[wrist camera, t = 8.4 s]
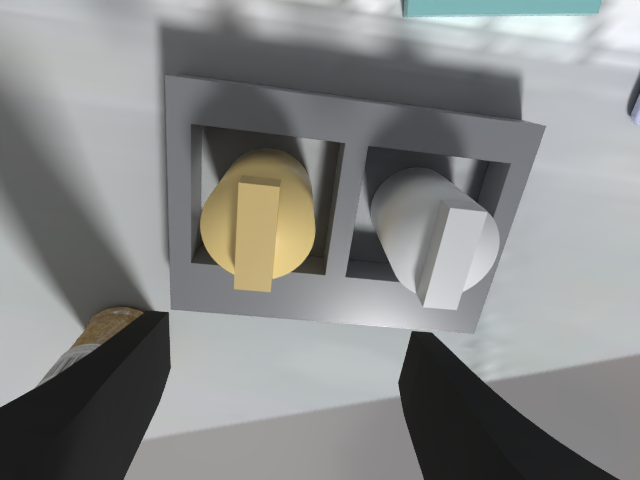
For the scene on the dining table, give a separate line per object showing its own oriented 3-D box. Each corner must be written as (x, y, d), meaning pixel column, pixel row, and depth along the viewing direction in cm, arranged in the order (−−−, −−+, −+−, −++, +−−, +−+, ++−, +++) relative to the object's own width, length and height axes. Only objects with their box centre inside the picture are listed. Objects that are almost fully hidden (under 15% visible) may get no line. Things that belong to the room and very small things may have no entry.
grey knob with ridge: (465, 172, 20) (528, 213, 14) (442, 251, 22) (491, 315, 16) (379, 162, 19) (410, 200, 14) (363, 243, 21) (385, 306, 16)
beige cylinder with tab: (316, 153, 19) (323, 188, 14) (306, 236, 21) (308, 297, 15) (224, 142, 19) (193, 174, 13) (222, 228, 20) (193, 288, 15)
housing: (522, 120, 19) (546, 126, 17) (460, 312, 23) (473, 333, 21) (179, 74, 17) (164, 75, 16) (181, 288, 22) (170, 309, 20)
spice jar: (97, 367, 24) (-122, 694, 11) (79, 303, 22) (-205, 609, 10) (175, 366, 24) (42, 684, 12) (164, 302, 22) (-9, 600, 10)
